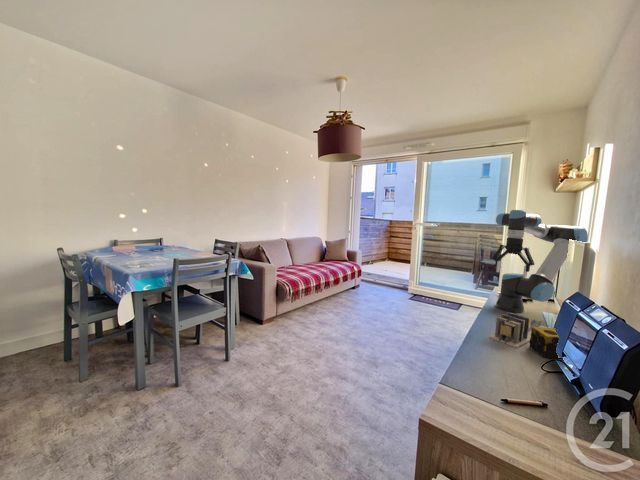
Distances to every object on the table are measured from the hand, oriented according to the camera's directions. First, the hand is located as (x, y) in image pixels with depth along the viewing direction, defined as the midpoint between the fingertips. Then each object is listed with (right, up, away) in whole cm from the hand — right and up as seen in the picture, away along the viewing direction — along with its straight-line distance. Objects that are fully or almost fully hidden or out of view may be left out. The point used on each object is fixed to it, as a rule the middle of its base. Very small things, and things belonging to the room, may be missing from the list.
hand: (510, 274), depth 156 cm
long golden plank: (-11, -25, -20) cm, 34 cm away
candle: (-8, -31, -34) cm, 47 cm away
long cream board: (-5, -28, -15) cm, 33 cm away
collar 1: (-16, -29, -22) cm, 39 cm away
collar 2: (-11, -29, -19) cm, 36 cm away
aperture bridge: (-19, -29, -24) cm, 42 cm away
